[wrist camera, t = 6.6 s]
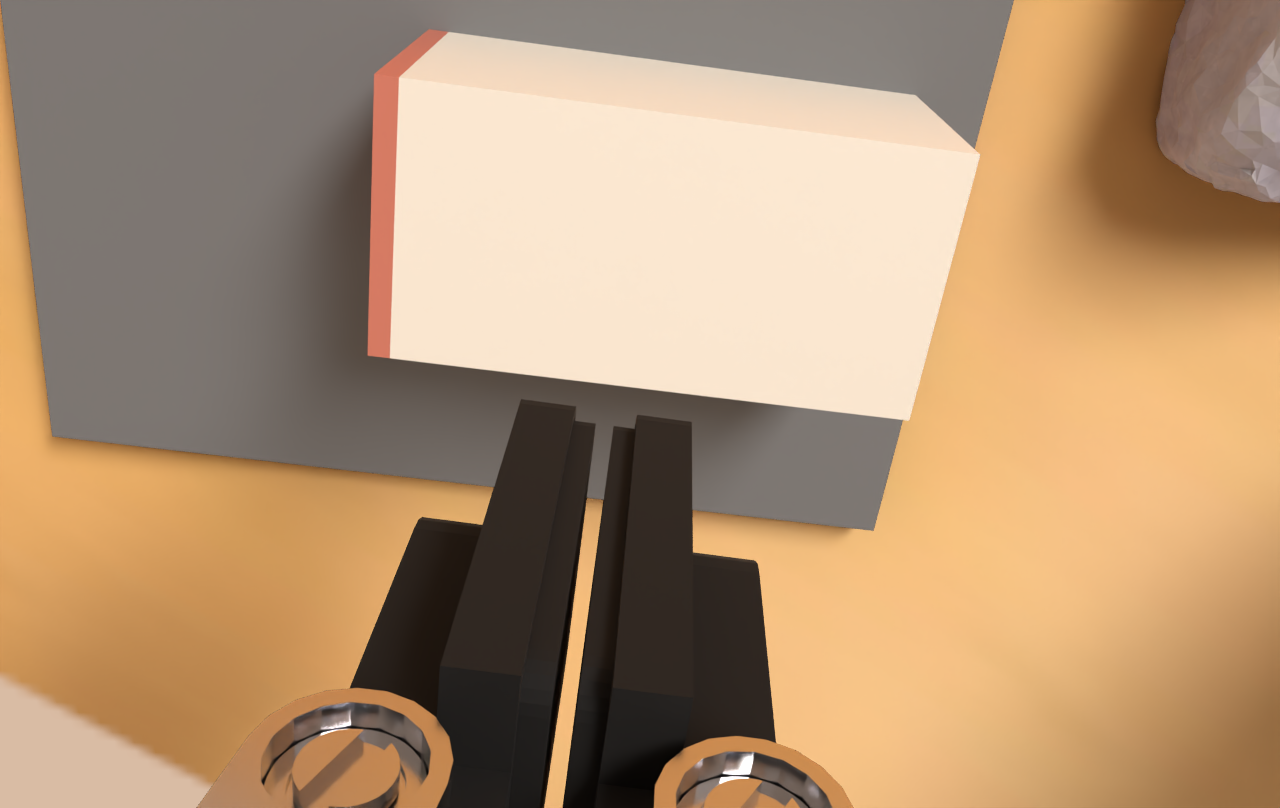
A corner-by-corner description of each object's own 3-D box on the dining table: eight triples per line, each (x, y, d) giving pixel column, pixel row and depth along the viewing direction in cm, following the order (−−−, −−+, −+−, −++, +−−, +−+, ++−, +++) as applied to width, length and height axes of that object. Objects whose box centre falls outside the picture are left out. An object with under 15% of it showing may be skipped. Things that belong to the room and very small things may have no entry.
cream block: (428, 29, 22) (915, 95, 23) (418, 263, 25) (862, 318, 25) (374, 73, 18) (980, 154, 18) (367, 355, 20) (909, 420, 21)
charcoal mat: (1051, -194, 21) (1065, -196, 21) (867, 513, 28) (873, 530, 28) (-19, -355, 20) (-43, -362, 20) (67, 421, 27) (52, 436, 27)
